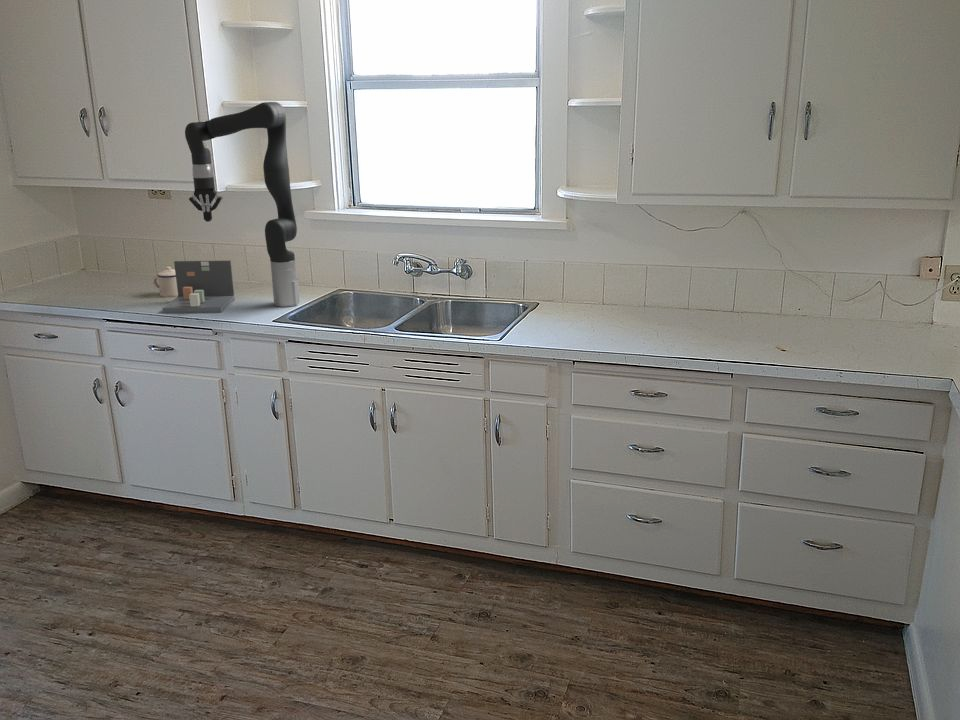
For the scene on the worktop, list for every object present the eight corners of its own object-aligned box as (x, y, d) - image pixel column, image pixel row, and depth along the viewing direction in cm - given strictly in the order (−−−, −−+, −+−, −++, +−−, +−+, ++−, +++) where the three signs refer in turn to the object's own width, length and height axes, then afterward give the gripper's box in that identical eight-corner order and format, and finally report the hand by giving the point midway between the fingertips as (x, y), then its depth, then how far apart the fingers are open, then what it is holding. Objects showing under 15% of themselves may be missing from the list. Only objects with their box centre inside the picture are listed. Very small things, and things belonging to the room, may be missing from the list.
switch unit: (234, 300, 346) (230, 260, 341) (221, 312, 328) (216, 270, 323) (179, 300, 346) (174, 260, 341) (163, 313, 328) (157, 271, 323)
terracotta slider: (193, 297, 340) (192, 286, 339) (191, 299, 338) (190, 288, 336) (185, 298, 340) (184, 286, 339) (183, 299, 338) (182, 288, 336)
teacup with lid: (187, 292, 358) (184, 265, 355) (174, 298, 350) (171, 269, 346) (162, 291, 361) (158, 263, 358) (148, 296, 353) (145, 268, 350)
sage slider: (204, 301, 335) (203, 289, 333) (202, 302, 332) (201, 291, 331) (197, 301, 335) (195, 289, 333) (195, 302, 332) (193, 291, 331)
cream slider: (200, 304, 330) (199, 293, 328) (198, 306, 327) (197, 294, 326) (192, 304, 330) (191, 293, 328) (190, 306, 327) (189, 294, 326)
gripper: (223, 174, 337) (227, 219, 342) (189, 175, 337) (194, 220, 342) (217, 176, 330) (222, 222, 335) (182, 177, 330) (188, 223, 335)
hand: (208, 221), depth 338 cm, fingers closed
